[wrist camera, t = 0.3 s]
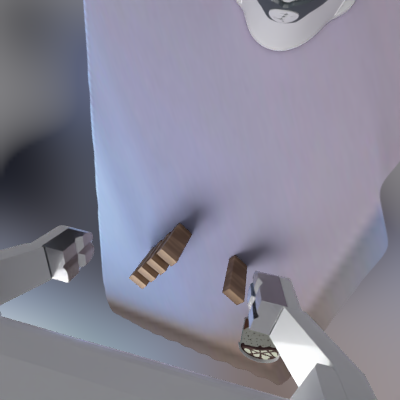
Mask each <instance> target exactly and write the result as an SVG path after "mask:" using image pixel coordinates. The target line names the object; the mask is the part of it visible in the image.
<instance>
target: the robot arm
mask: <svg viewBox="0 0 400 400" xmlns="http://www.w3.org/2000/svg"><path fill="white" fill-rule="evenodd" d="M236 2H237V3H238V4H239V6H240V7H241V8H242V9H243V12H244V15H245V19H246V23H247V26H248V29H249V31H250V33H251V35H252V36H253V38H254V39H255V40H256V41H257V42H258V43H259V44H260V45H262V46H263V47H265V48H267V49H270V50H275V51H285V50H290V49H293V48H296V47H298V46H300V45H302V44H304V43H306V42H307V41H309V40H310V39H311V38H312V37H314V36H315V35H316V34H317V33H318V32H319V31H320V30H321V29H322V28H323V27H324V26H325V25H326V24H327V23H328V22H329V21H331V20H333V19H335V18H337V17H339V16H341V15H342V14H344V13H346V12H347V11H348V10H349V9H350V8H351V7H352V5H353V4H354V2H355V0H236ZM92 240H93V236H92V233H90V232H87V231H83V230H80V229H75V228H71V227H67V226H63V225H62V226H58V227H57V228H55V229H53V230H52V231H50V232H48V233H47V234H45V235H43V236H42V237H40V238H39V239H37V240H35V241H34V242H32V243H31V244H28V243H26V244H22V245H18V246H14V247H11V248H7V249H3V250H0V305H2V304H4V303H6V302H8V301H10V300H11V299H13V298H16V297H18V296H19V295H21V294H23V293H25V292H27V291H29V290H31V289H33V288H35V287H37V286H39V285H41V284H43V283H45V282H47V281H49V280H51V278H52V279H57V280H61V281H65V282H70V281H71V280H72V279H73V278H74V277H75V276H76V275H77V274H78V273H79V271H80V267H82V266H85V265H87V264H88V263H89V261H90V260H91V258H92V257H93V254H94V246H93V245H92V243H91V241H92ZM247 302H248V306H249V308H250V311H249V314H248V317H249V330H253V331H256V332H259V333H263V334H266V335H270V336H269V337H270V338H271V340H272V342H273V344H274V345H275V347H276V349H277V351H278V352H279V354H280V356H281V357H282V359H283V361H284V363H285V364H286V366H287V368H288V370H289V371H290V373H291V375H292V377H293V378H294V380H295V381H296V383H297V385H298V387H299V388H298V389H297V390H296V392H295V393H294V394H293V396H292V397H291V398H290V399H287V398H283V397H280V396H276V395H273V394H269V393H265V392H262V391H259V390H256V389H252V388H248V387H245V386H241V385H238V384H235V383H231V382H228V381H224V380H221V379H217V378H214V377H210V376H207V375H203V374H200V373H197V372H193V371H189V370H186V369H182V368H179V367H176V366H172V365H169V364H165V363H162V362H158V361H155V360H151V359H148V358H145V357H141V356H138V355H134V354H131V353H127V352H124V351H120V350H117V349H113V348H110V347H106V346H103V345H99V344H96V343H92V342H89V341H85V340H82V339H78V338H75V337H71V336H68V335H64V334H61V333H58V332H54V331H51V330H47V329H44V328H40V327H37V326H33V325H30V324H26V323H22V322H19V321H16V320H12V319H9V318H5V317H2V316H1V313H0V400H377V398H376V396H375V394H374V393H373V390H372V388H371V386H370V384H369V382H368V380H367V378H366V376H365V374H364V373H362V372H361V370H360V369H359V368H358V367H357V366H356V365H355V364H354V363H353V362H352V361H351V360H350V359H349V358H348V356H346V354H345V353H344V352H343V351H342V350H341V349H340V348H339V347H338V346H337V345H336V344H335V343H334V342H333V341H332V340H331V339H330V337H329V336H328V335H327V334H326V333H325V332H324V331H323V330H322V329H321V328H320V327H319V326H318V325H317V324H316V323H315V321H314V320H313V319H312V318H311V317H310V316H309V315H308V314H307V313H306V312H304V311H302V310H301V307H300V304H299V301H298V299H297V296H296V293H295V290H294V287H293V284H292V281H291V280H290V278H286V277H281V276H276V275H272V274H267V273H263V272H258V271H255V273H254V275H253V283H251V284H250V286H249V290H248V297H247Z"/></svg>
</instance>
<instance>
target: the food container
mask: <svg viewBox="0 0 400 400" xmlns="http://www.w3.org/2000/svg"><path fill="white" fill-rule="evenodd" d="M269 336H270V335H266V334H263V333H259V332H256V331H253V330H249V318H245V320H244V325H243V331H242V336H241V341H240V343H239V342H238V344H239V349H240V351H241V352H242V353H243V354H244V355H245V356H246V357H248V358H250V359H252V360H254V361H257V362H261V363H271V362H275V361H276V360H278V358H279V356H280V354H279V352H278V351H277V349H276V347H275V345H274V344H273V342H272V340H271V338H270V337H269Z"/></svg>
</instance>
